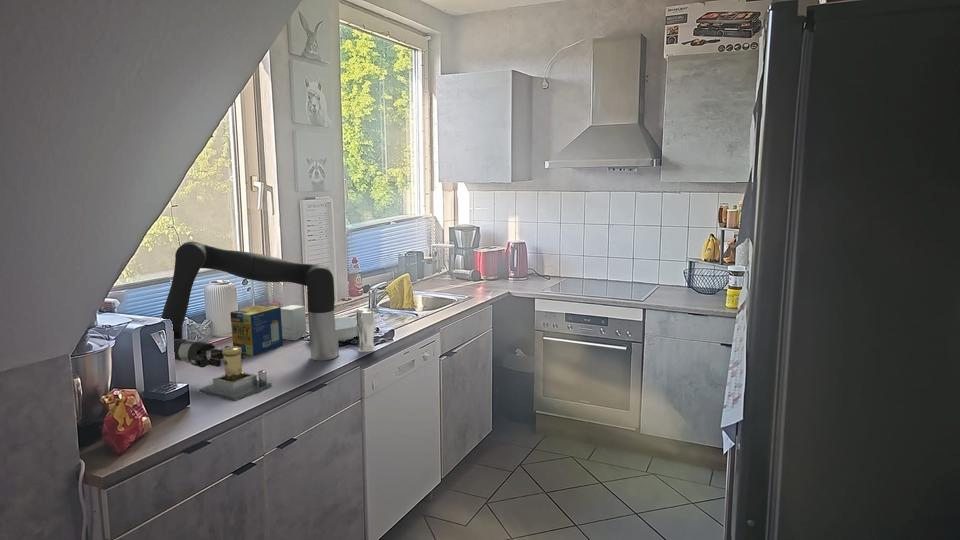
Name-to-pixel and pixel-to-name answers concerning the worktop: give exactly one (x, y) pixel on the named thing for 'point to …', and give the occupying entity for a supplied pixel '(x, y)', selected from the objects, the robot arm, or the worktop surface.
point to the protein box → (257, 329)
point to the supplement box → (293, 322)
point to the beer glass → (365, 329)
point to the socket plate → (237, 386)
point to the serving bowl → (346, 328)
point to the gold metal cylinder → (233, 363)
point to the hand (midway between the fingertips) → (231, 359)
